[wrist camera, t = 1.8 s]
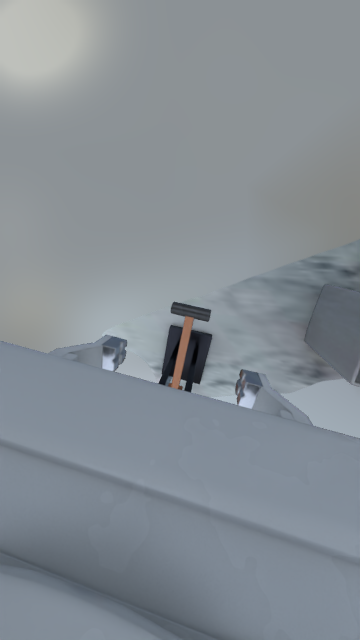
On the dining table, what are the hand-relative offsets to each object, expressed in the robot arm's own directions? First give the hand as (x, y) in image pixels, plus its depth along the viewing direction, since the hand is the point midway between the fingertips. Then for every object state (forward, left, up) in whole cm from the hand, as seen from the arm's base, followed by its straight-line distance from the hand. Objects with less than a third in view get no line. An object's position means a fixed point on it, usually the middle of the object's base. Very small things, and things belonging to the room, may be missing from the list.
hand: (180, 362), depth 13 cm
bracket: (+10, +9, -26) cm, 30 cm away
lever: (+6, +4, -13) cm, 15 cm away
